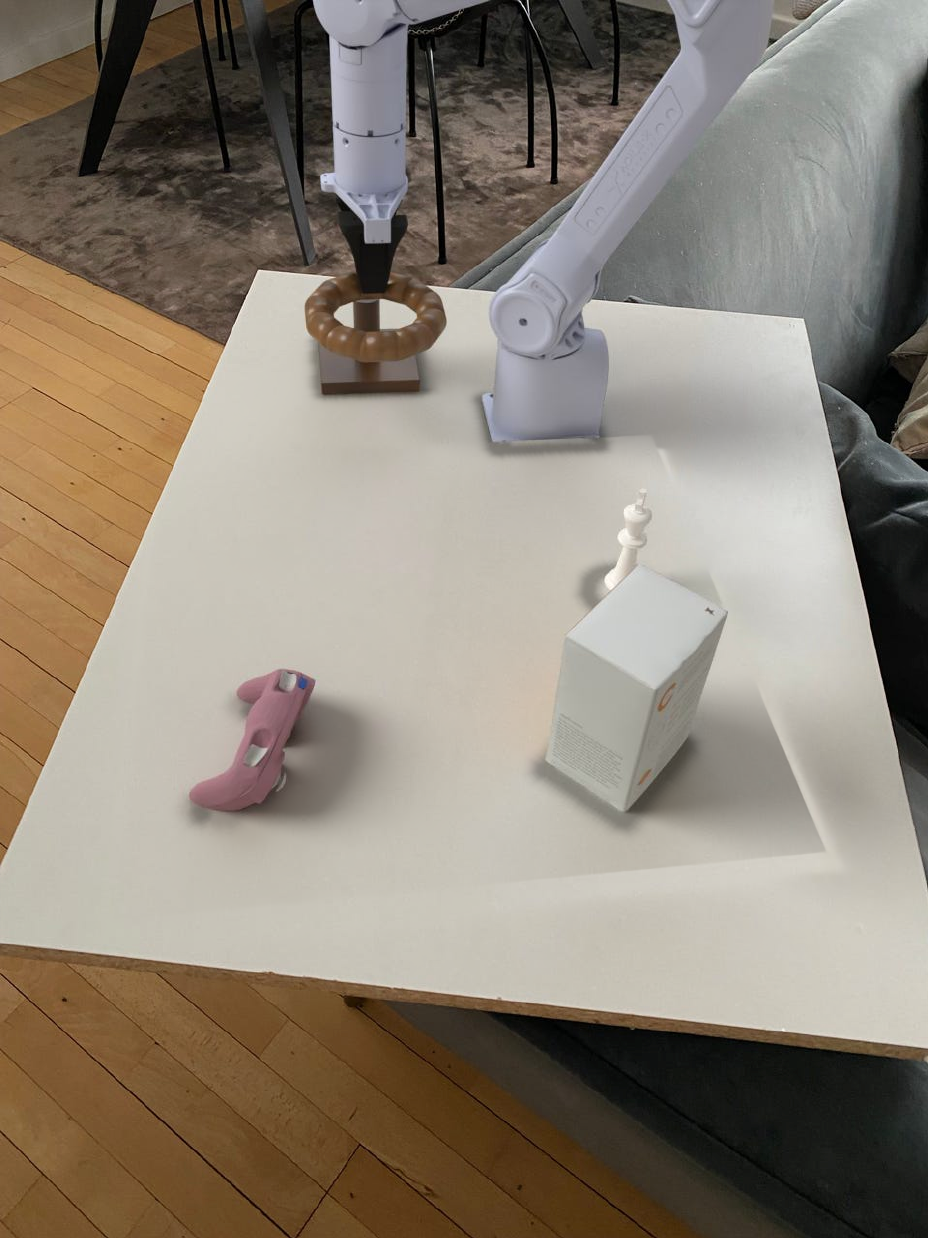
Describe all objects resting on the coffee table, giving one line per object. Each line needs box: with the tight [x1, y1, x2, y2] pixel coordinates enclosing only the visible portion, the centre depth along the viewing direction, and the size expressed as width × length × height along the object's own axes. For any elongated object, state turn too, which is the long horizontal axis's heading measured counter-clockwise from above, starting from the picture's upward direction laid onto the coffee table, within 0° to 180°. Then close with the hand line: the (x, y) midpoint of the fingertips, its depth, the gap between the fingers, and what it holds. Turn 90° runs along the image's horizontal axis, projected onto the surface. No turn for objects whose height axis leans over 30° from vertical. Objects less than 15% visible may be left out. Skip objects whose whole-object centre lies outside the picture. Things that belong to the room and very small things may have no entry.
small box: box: [544, 563, 729, 813], centre depth 64 cm, size 8×6×13 cm
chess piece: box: [603, 487, 653, 592], centre depth 76 cm, size 5×5×10 cm
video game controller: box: [188, 668, 316, 812], centre depth 65 cm, size 10×5×7 cm, turn 168°
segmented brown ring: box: [304, 270, 448, 362], centre depth 88 cm, size 12×12×2 cm
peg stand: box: [317, 299, 421, 395], centre depth 96 cm, size 9×9×7 cm
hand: (371, 282), depth 91 cm, fingers closed on segmented brown ring, 2 cm apart
